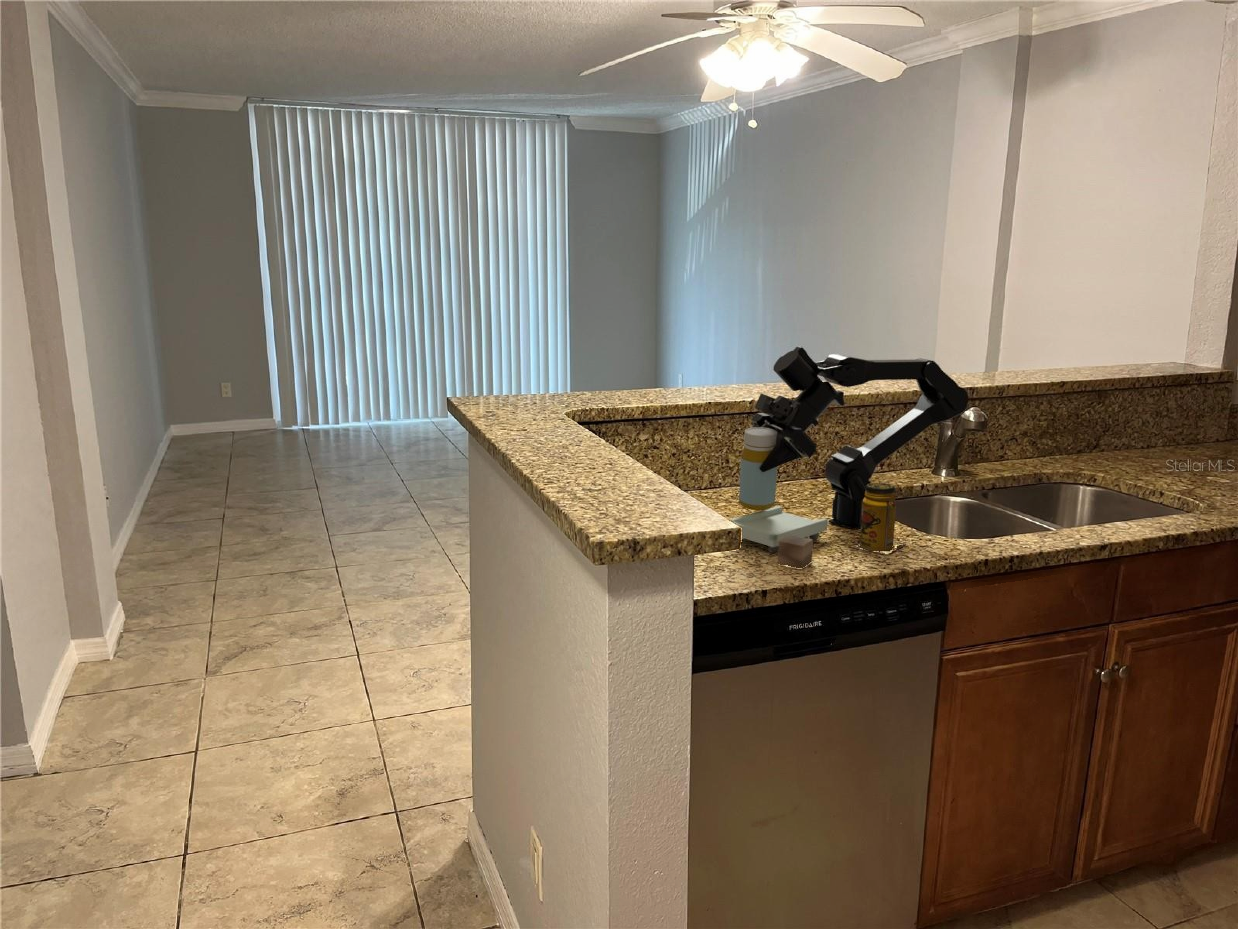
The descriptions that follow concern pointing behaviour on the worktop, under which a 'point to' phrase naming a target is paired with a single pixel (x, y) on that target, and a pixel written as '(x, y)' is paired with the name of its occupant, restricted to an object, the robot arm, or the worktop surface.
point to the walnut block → (795, 551)
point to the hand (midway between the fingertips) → (753, 466)
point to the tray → (777, 527)
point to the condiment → (878, 518)
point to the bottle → (757, 470)
